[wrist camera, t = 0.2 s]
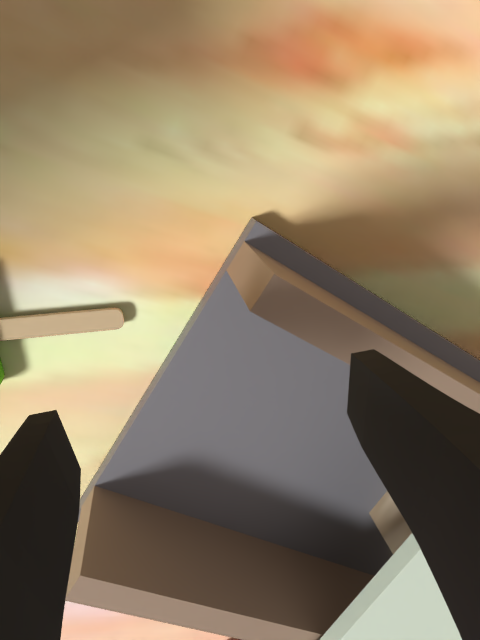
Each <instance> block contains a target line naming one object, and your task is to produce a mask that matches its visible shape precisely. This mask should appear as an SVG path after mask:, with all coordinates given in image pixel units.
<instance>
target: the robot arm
mask: <svg viewBox="0 0 480 640" xmlns="http://www.w3.org/2000/svg"><path fill="white" fill-rule="evenodd" d="M347 414H348V417H349V419H350V422H351V424H352V426H353V429H354V431H355V433H356V436H357V438H358V440H359V442H360V445H361V447H362V449H363V451H364V452H365V454H366V456H367V457H368V459H369V461H370V463H371V464H372V466H373V468H374V469H375V471H376V473H377V474H378V476H379V478H380V480H381V481H382V483H383V485H384V486H385V488H386V490H387V491H388V493H389V495H390V496H391V498H392V500H393V501H394V503H395V505H396V506H397V508H398V510H399V511H400V513H401V515H402V516H403V518H404V520H405V521H406V523H407V525H408V526H409V528H410V530H411V532H412V534H413V535H414V537H415V539H416V541H417V543H418V545H419V547H420V549H421V551H422V553H423V555H424V557H425V559H426V561H427V563H428V566H429V568H430V570H431V572H432V574H433V576H434V578H435V580H436V582H437V584H438V587H439V589H440V591H441V593H442V596H443V598H444V600H445V602H446V604H447V607H448V609H449V611H450V613H451V615H452V618H453V620H454V622H455V624H456V627H457V629H458V631H459V633H460V636H461V638H462V640H480V414H479V413H478V412H476V411H474V410H472V409H470V408H468V407H467V406H465V405H463V404H461V403H460V402H458V401H456V400H455V399H453V398H451V397H449V396H448V395H446V394H444V393H443V392H441V391H440V390H438V389H436V388H435V387H433V386H431V385H430V384H428V383H427V382H425V381H423V380H422V379H420V378H419V377H417V376H416V375H414V374H412V373H411V372H409V371H408V370H406V369H405V368H403V367H402V366H400V365H398V364H397V363H395V362H394V361H392V360H391V359H389V358H388V357H386V356H384V355H383V354H381V353H380V352H378V351H376V350H374V349H372V350H367V351H361V352H356V353H351V360H350V375H349V389H348V404H347ZM80 476H81V468H80V466H79V463H78V461H77V459H76V456H75V454H74V451H73V449H72V447H71V444H70V442H69V439H68V437H67V435H66V432H65V430H64V427H63V425H62V422H61V420H60V418H59V415H58V413H57V410H54V411H49V412H43V413H38V414H33V415H29V416H28V417H27V419H26V420H25V421H24V423H23V424H22V425H21V427H20V428H19V430H18V431H17V432H16V434H15V435H14V436H13V438H12V439H11V441H10V442H9V443H8V445H7V446H6V448H5V449H4V450H3V452H2V453H1V455H0V640H60V637H61V628H62V620H63V612H64V605H65V599H66V593H67V587H68V580H69V574H70V568H71V562H72V555H73V549H74V543H75V536H76V530H77V523H78V517H79V507H80Z"/></svg>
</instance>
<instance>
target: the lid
mask: <svg viewBox="0 0 480 640" xmlns="http://www.w3.org/2000/svg"><path fill="white" fill-rule="evenodd" d="M320 640H462V638H461V636H460V633H459V631H458V629H457V627H456V624H455V622H454V620H453V618H452V615H451V613H450V611H449V609H448V607H447V604H446V602H445V600H444V598H443V596H442V593H441V591H440V589H439V587H438V584H437V582H436V580H435V578H434V576H433V574H432V572H431V570H430V568H429V566H428V563H427V561H426V559H425V557H424V555H423V553H422V551H421V549H420V547H419V545H418V543H417V541H416V539H415V537H414V535H413V534H411V535H410V536H409V537H408V538H407V539H406V540H405V542H404V543H403V544H402V545H401V546H400V547H399V549H398V550H397V551H396V552H395V553H394V554H393V555H392V557H391V558H390V559H389V560H388V561H387V562H386V564H385V565H384V566H383V567H382V568H381V569H380V570H379V572H378V573H377V574H376V575H375V576H374V577H373V578H372V580H371V581H370V582H369V583H368V584H367V585H366V587H365V588H364V589H363V590H362V591H361V592H360V593H359V595H358V596H357V597H356V598H355V599H354V600H353V602H352V603H351V604H350V605H349V606H348V607H347V608H346V610H345V611H344V612H343V613H342V614H341V615H340V617H339V618H338V619H337V620H336V621H335V622H334V623H333V625H332V626H331V627H330V628H329V629H328V630H327V631H326V633H325V634H324V635H323V636H322V637H321V638H320Z"/></svg>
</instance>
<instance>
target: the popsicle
mask: <svg viewBox="0 0 480 640" xmlns="http://www.w3.org/2000/svg"><path fill="white" fill-rule="evenodd" d="M123 324H124V315H123V312H122V310H121V309H119V308H103V309H92V310H81V311H70V312H59V313H48V314H37V315H26V316H15V317H4V318H0V341H3V340H13V339H24V338H34V337H44V336H54V335H64V334H74V333H84V332H94V331H105V330H115V329H119V328H121V327H122V326H123ZM4 375H5V374H4V370H3V366H2V362H1V359H0V384H1V382H2V380H3V378H4Z"/></svg>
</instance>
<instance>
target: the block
mask: <svg viewBox="0 0 480 640" xmlns="http://www.w3.org/2000/svg"><path fill="white" fill-rule="evenodd" d="M369 514H370V516H371V517H372V519H373V521H374V523H375V524H376V526H377V528H378V529H379V531H380V533H381V535H382V536H383V538H384V540H385V541H386V543H387V545H388V547H389V548H390V550H391V552H392V553H393V554H394V553H395V552H396V551H397V550H398V549H399V547H400V546H401V545H402V544H403V543H404V542H405V540H406V539H407V538H408V537H409V536H410V535H411V534H412V532H411V530H410V528H409V526H408V525H407V523H406V521H405V520H404V518H403V516H402V515H401V513H400V511H399V510H398V508H397V506H396V505H395V503H394V501H393V500H392V498H391V496H390V495H389V493H388V491H387V492H386V493H385V494H384V495H383V497H382V498H381V499H380V500H379V501H378V503H377V504H376V505H375V506H374V507H373V509H372V510H371V511H370V512H369Z"/></svg>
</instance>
